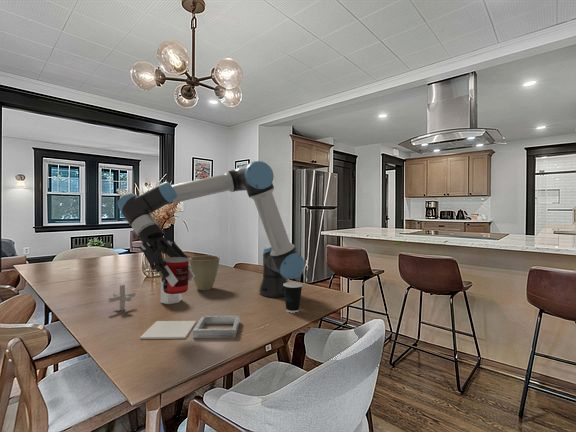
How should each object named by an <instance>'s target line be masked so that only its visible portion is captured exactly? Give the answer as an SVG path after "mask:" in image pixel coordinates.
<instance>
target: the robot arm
mask: <svg viewBox="0 0 576 432" xmlns="http://www.w3.org/2000/svg"><path fill="white" fill-rule="evenodd" d="M273 181H274V171H273V169H272V167H271V166H270V165H269V164H268V163H266V162H264V161H263V160H262V161H260V160H257V161H250V162H249V163H247V164H244V165H242V166H241V165H240V166H239V167H237V168H235V169H231V170H228V171H227V170H226V171H225V173H224V174H219V175H213V176H210V177H205V178H201V179H195V180H190V181H185V182H180V183H176V184H171V183H170V182H168V181H164V182H162V183H159V184H158V185H156V186H155V187H153V188H151V189H149V190H147V191H146V192H144V193H142V194H140V195H137V194H136V193H133V192H132V193H128V194H127V193H125V194H123V195H122V196H121V197H120V198H119V199H118V200H117V207H118V209H119V211H120V212H121V215H122V216H123V217H124V218H125V220H126V221H127V223H128V224H129V225H130V227H131V228H132V229H133V231H134V232H135V234H136V235H137V237H138V239H139V240H140V241H141V243H142V244H141V245H140V246H139V249H140V251H141V252H143V256H145V258H146V260H147V262H148V264H149V266H150V269H151V270H152V271H155V272H157V273H159V272H160V274H161V276H162V275H163V276H164V277H165V278H166V279H167V281H168V282H169V284H170V285H171V286H174V285H175V284H176V283H177V282H178V280H177V279H176V277H175V276H174V274H173V273H172V271H171V270H170V269H169V267H168V266H165V265H164V258H163V254H164V255H167V256H168V258H170V257H185V258H188V260H190V258H189V257H188V256H187V255H186V254H185V253H184V251H183V250H182V249H181V248H180V247H179V246H178V245H177V244H176V241H175V240H174V239H172V238H171V239H170V240H167V239H166V238H165V237H164V231H163V230H162V228H161V227H160V226H159V224H158V222H156V220H155V218H154V217H153V216H152V215H151V214H152V213H154V212H155V211H158V210H159V209H162V208H163V207H164V206H167V205H172V204H175V203H180V202H185V201H189V200H193V199H198V198H202V197H207V196H210V195H215V194H219V193H225V192H230V193H234V192H240V191H241V192H242V191H246V193H247V196H248V198H250V199H251V200H253V202H254V204H255V207H256V210H257V213H258V215H259V218H260V220H261V223H262V226H263V229H264V231H265V234H266V236H267V240H268V243H269V244H270V245H269V246H270V247H264V248H263V251H262V279H261V282H260V285H259V289H258V294H259V295H260V296H262V297H267V298H280V297H281V298H282V296H283V297H285V292H284V285H283V284H284V283H287V282H288V279H289V280H294V279H297V278H298V277H300V276H301V274H303V272H304V269H305V260H304V257H303V256H302V255H301V254H299V253H298V251H297V249H296V246H295V244H293V243H291V242H290V238H289V236H288V234H287V231H286V228H285V225H284V222H283V219H282V217H281V214H280V211H279V208H278V205H277V202H276V201H275V200H276V199H275V197H274V193H273V192H274V189H275V186H274V184H273ZM162 253H163V254H162ZM164 266H165V267H164ZM194 277H195V275H194V273H193V272H192V270H191V266H189V267H188V282H192V280H194Z"/></svg>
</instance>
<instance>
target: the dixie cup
mask: <svg viewBox="0 0 576 432" xmlns="http://www.w3.org/2000/svg"><path fill="white" fill-rule="evenodd" d="M283 285H284V292H285V296H284V300H285V301H284V302H285V309H286V312H287V313H289V312H290V314H296V313H295V312H297V313H298V312H299V310H300V305H301V296H302V291H303V290H302V288H303V287H304V286H303V285H304V284H303V283H301V282H295V281H289V282H287V283H284V284H283Z"/></svg>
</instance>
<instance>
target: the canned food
mask: <svg viewBox="0 0 576 432" xmlns="http://www.w3.org/2000/svg"><path fill="white" fill-rule="evenodd" d="M188 258H189V257H188ZM188 258H185V257H164V258H163V261H164V265H165V266H168V267H169V269H170V270H171V271H172V273H173V274H174V276H175V277H176V279H177V280H178V282H177V283H176V284H175V285H174V286H171V285H170V284H169V282H168V281H167V279H166V278H165V277H164V276H163V290H164V292H165V293H167V294H180V293H182V294H184V293H187V291H188V290H189V280H188V267H190V266H189V262H190V259H188ZM165 266H164V267H165Z"/></svg>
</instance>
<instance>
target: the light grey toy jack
mask: <svg viewBox="0 0 576 432" xmlns="http://www.w3.org/2000/svg"><path fill="white" fill-rule="evenodd" d="M125 292H126V284H119V293H118V292H114V294H113V295H112V297H108V303H115V302H118V301H119V311H124V310H126V308H125V307H126V302H131V301H132V298H134V297H136V292H135V291H134V292H130V293H125Z"/></svg>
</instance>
